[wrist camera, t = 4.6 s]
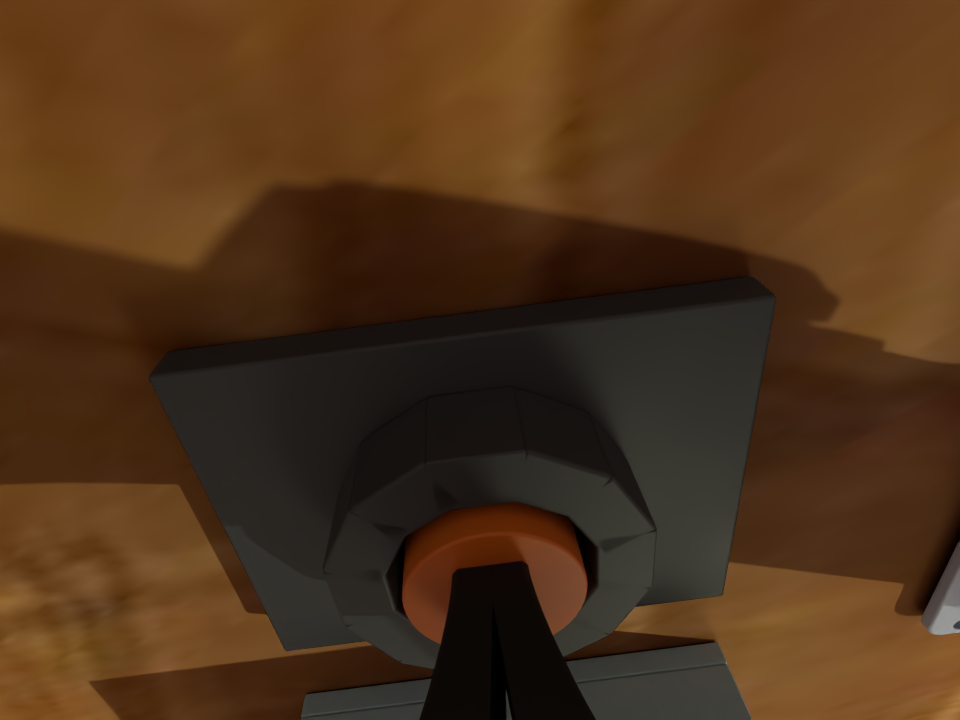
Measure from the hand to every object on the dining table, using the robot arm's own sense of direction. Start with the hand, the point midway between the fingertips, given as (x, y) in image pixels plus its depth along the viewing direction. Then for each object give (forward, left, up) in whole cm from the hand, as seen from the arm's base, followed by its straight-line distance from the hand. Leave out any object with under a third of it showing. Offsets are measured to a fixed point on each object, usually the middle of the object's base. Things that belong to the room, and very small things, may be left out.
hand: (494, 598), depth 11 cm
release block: (0, 0, -3) cm, 3 cm away
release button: (0, 0, -2) cm, 2 cm away
